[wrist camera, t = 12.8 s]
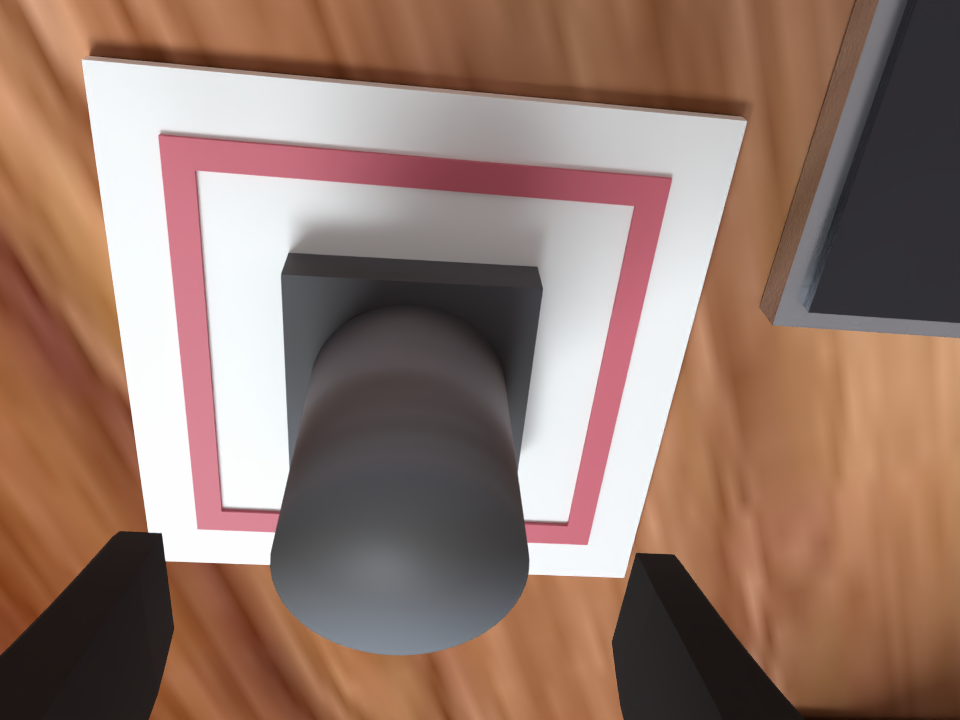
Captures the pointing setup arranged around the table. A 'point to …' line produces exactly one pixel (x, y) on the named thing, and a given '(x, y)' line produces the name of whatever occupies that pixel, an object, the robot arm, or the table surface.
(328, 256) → the stamp
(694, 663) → the robot arm
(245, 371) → the marked sheet
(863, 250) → the ink pad
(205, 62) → the table surface
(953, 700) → the table surface
